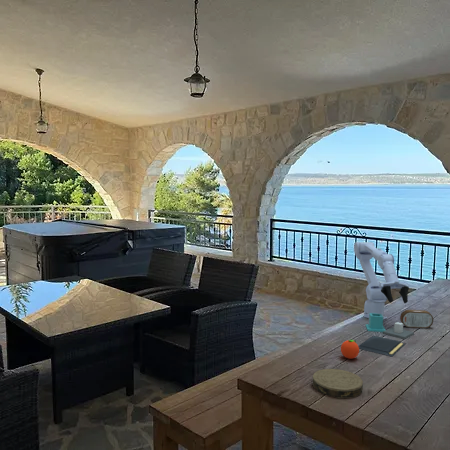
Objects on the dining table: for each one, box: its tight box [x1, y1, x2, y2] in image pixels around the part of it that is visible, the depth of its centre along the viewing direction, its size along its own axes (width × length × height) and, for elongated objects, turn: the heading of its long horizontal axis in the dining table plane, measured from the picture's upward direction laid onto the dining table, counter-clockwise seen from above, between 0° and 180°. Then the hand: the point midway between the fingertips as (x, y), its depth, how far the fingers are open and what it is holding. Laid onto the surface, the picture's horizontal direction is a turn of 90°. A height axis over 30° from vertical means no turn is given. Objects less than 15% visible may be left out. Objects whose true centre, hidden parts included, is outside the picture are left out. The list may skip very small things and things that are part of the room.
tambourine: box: [312, 368, 364, 399], centre depth 139 cm, size 16×16×3 cm
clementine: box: [340, 339, 360, 360], centre depth 164 cm, size 8×7×7 cm
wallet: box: [358, 335, 406, 358], centre depth 178 cm, size 20×2×15 cm
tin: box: [399, 309, 434, 329], centre depth 205 cm, size 15×3×8 cm, turn 84°
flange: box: [365, 313, 386, 333], centre depth 201 cm, size 8×8×7 cm
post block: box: [382, 321, 415, 340], centre depth 194 cm, size 10×10×5 cm
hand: (398, 302), depth 198 cm, fingers open, 7 cm apart
